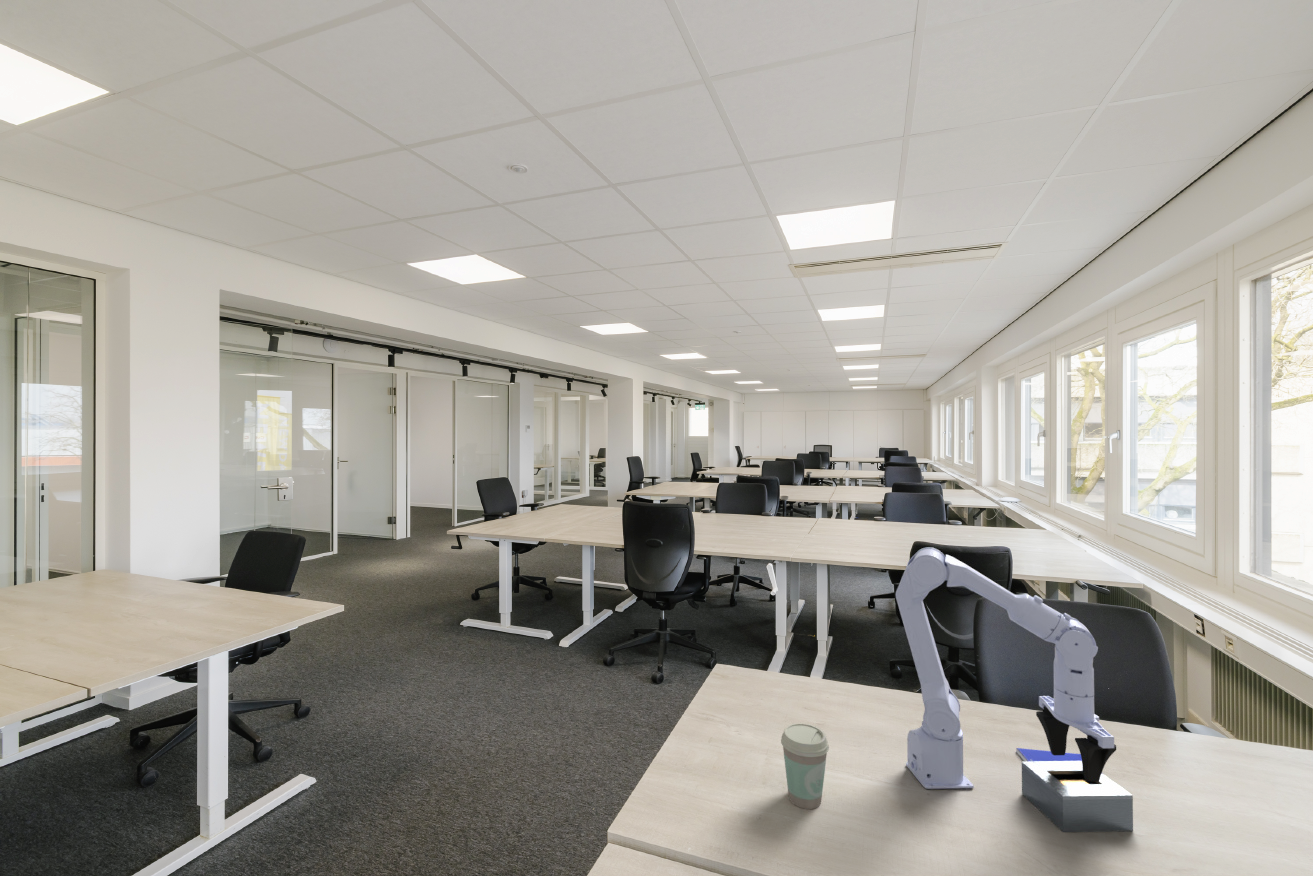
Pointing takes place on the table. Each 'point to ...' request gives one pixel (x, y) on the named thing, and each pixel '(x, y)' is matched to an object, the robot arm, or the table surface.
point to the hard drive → (1046, 755)
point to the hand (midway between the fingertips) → (1074, 766)
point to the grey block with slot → (1076, 798)
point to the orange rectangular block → (1073, 782)
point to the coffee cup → (805, 763)
